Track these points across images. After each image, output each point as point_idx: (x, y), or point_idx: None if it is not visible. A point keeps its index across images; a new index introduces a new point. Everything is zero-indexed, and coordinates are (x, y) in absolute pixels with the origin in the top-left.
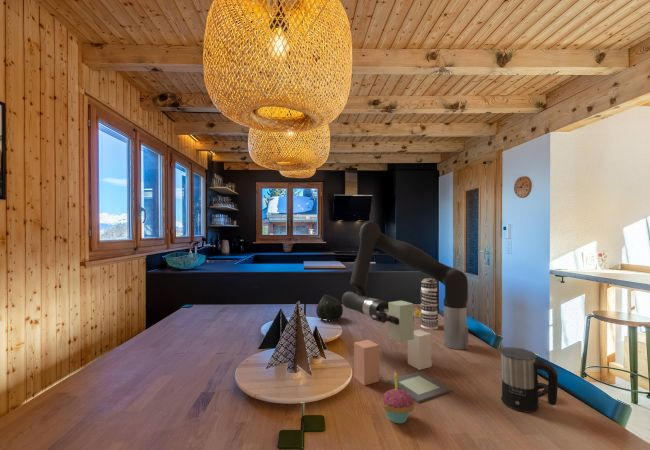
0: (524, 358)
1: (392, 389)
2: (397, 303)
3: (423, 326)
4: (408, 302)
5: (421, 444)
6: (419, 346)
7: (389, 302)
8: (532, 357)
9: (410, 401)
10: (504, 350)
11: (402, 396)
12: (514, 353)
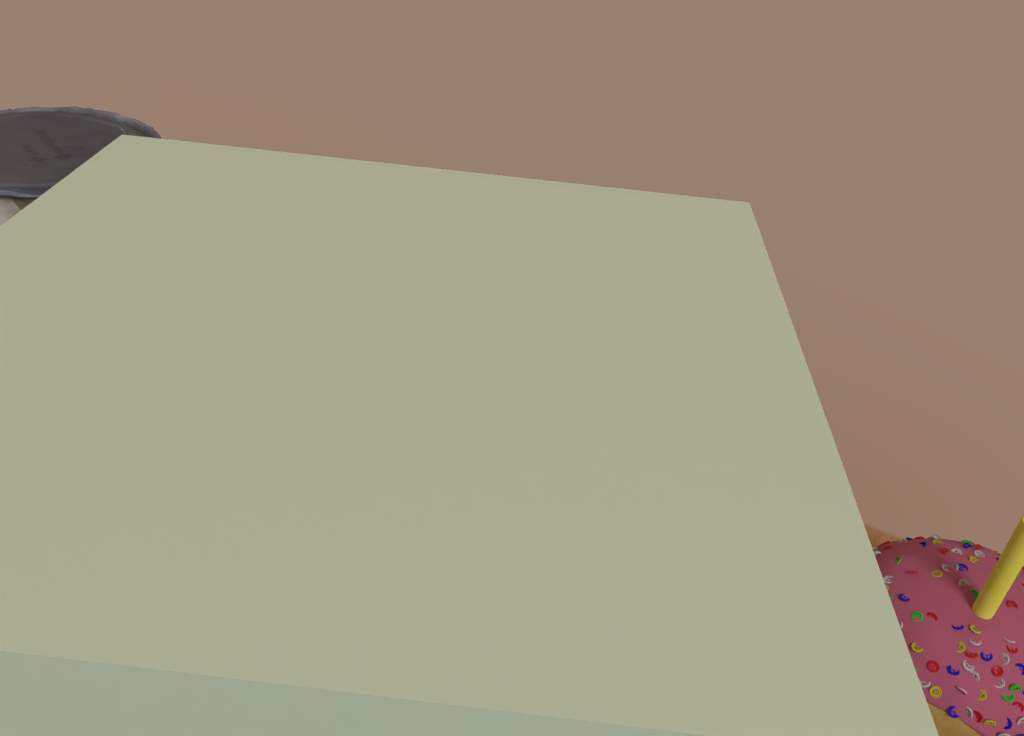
0: (119, 131)
1: (1009, 641)
2: (574, 351)
3: None
4: (2, 237)
5: (893, 535)
6: None
7: (899, 663)
8: (76, 115)
9: (904, 541)
10: (43, 178)
11: (965, 551)
12: (66, 152)
